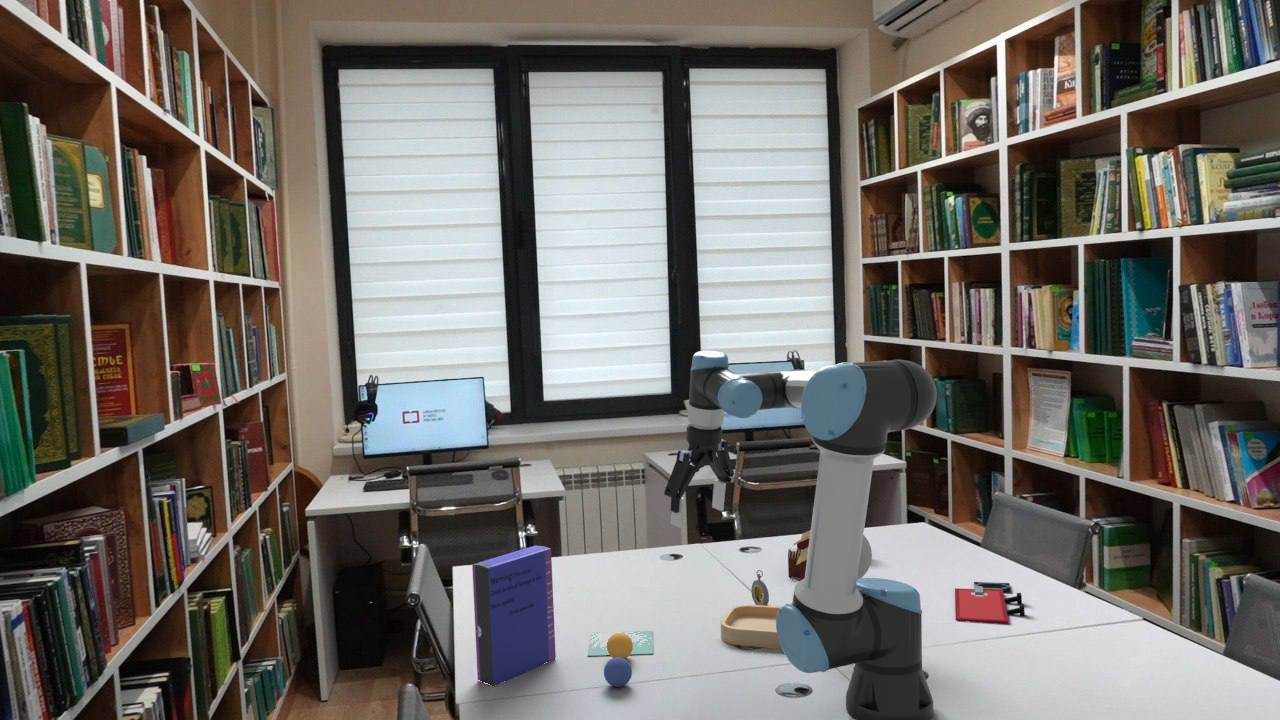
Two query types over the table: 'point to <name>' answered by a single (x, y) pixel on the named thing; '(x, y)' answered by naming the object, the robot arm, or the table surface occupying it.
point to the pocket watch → (760, 591)
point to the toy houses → (799, 557)
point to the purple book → (513, 614)
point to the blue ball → (617, 672)
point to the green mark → (636, 649)
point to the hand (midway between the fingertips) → (697, 517)
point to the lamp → (768, 616)
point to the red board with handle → (986, 603)
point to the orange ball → (619, 645)
